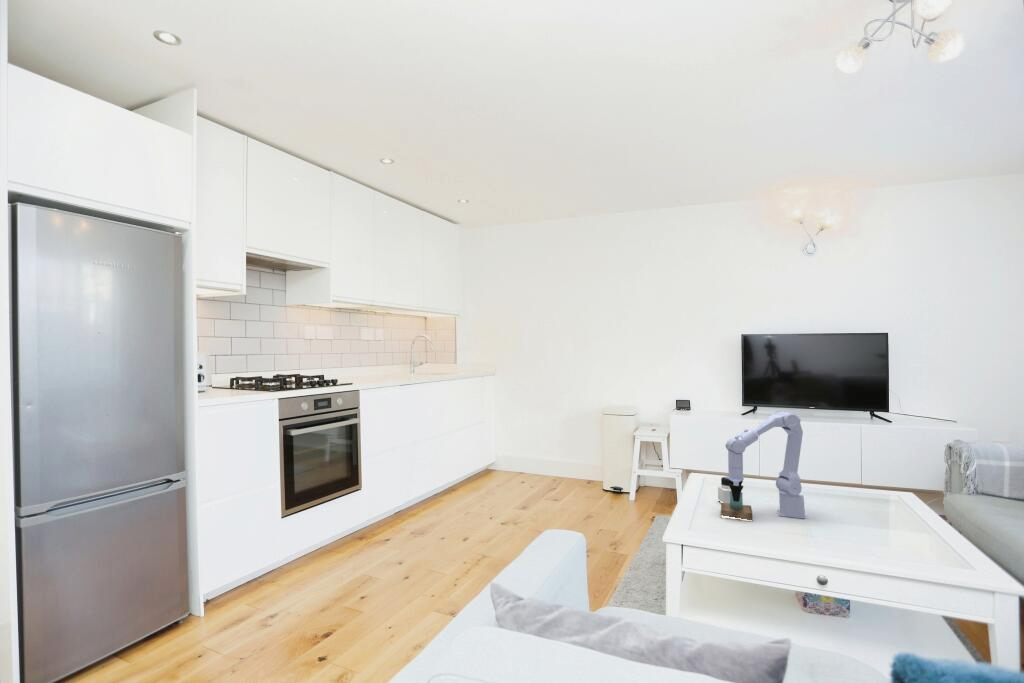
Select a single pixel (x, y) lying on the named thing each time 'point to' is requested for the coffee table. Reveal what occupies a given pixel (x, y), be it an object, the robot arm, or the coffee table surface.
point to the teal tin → (736, 504)
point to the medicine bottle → (724, 490)
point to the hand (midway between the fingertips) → (736, 499)
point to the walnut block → (736, 511)
